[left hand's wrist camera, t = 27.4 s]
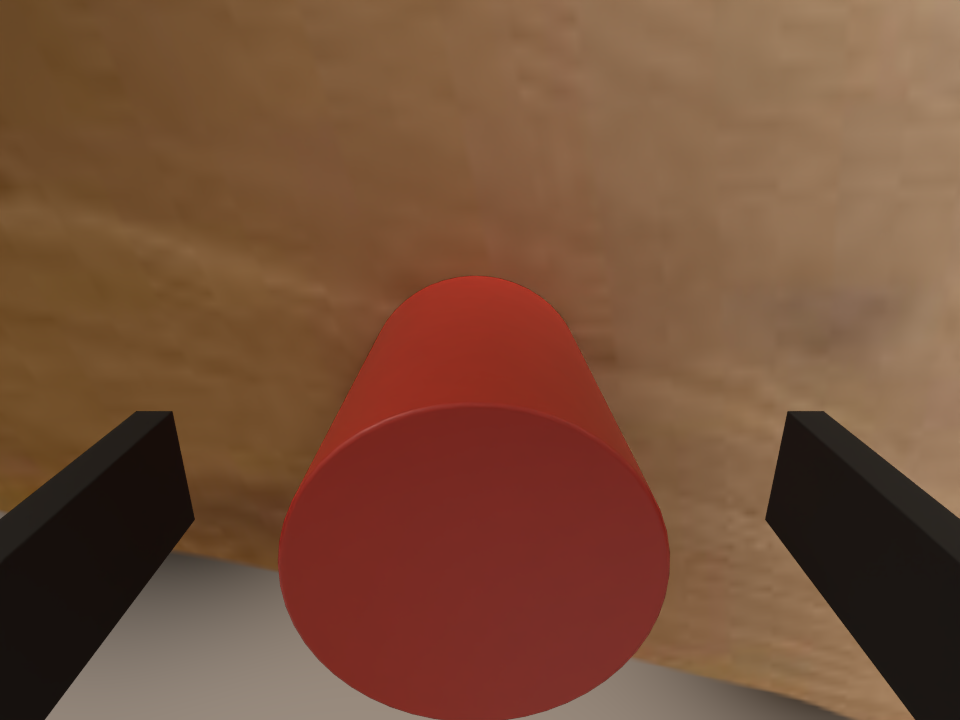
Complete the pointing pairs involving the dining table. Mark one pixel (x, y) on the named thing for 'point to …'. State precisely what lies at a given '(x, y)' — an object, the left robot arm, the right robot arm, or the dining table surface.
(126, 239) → the dining table surface
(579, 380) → the canister
